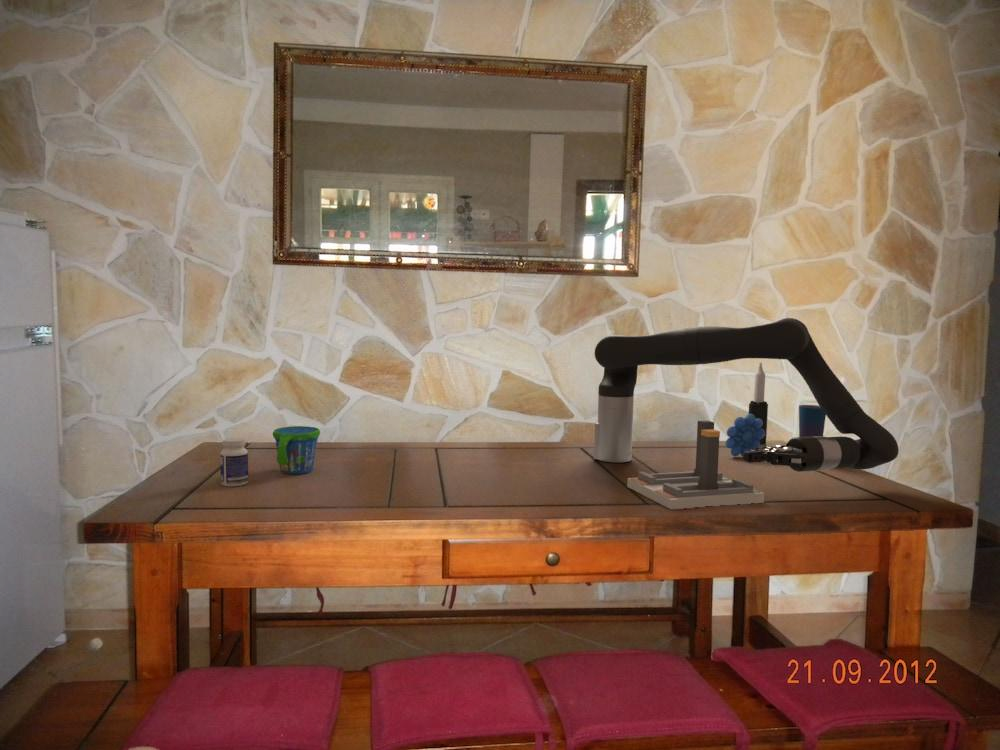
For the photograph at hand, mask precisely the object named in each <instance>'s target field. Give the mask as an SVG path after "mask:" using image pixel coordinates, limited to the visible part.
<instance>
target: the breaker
mask: <svg viewBox="0 0 1000 750" xmlns="http://www.w3.org/2000/svg"><path fill="white" fill-rule="evenodd" d="M720 437H721V430H720V431H719V430H716V429H714V430H713V429H707V430H701V456H700V479H699V481H698V489H699V490H709V489H718V487H719V484H718V483H717V478H718V472H719V456H720V455H719V453H720V451H719V450H720Z"/></svg>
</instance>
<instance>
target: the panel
mask: <svg viewBox="0 0 1000 750" xmlns="http://www.w3.org/2000/svg"><path fill="white" fill-rule="evenodd" d="M696 428H697V429H696V431H697V432H696V449H695V450H696V451H695V452H696V454H695V468H694V470H693V471H679V472H678V471H675V472H661V473H647V472H645V471H638V472H637V477H628V478H627V488H629V489H631V490H633V491H635V492H637V493H638V494H641V495H642V496H644V497H646V498H648V499H650V500H652V501H653V502H655V503H657V504H659V505H661V506H664V507H665V508H667V509H669V510H683V509H684V508H686V509H694V507H699V508H706V507H705V506H713V507H721V506H720V505H727V506H736V505H737V504H740V505H752V504H751V503H754V504H764V503H765V493H764V492H762V491H760V490H758V489H755V488H754V485H753V484H752V483H748V482H746V481H743V480H740V479H739V478H732V479H729V478H728V477H724V476H723V474H724V473H722V472H719V471H718V478H717V483H718V484H719V487H718V489H709V490H699V489H698V481H699V479H700V456H701V430H707V429H713V430H715V422H714V421H710V420H697V427H696ZM737 506H738V505H737Z"/></svg>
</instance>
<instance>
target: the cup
mask: <svg viewBox="0 0 1000 750" xmlns="http://www.w3.org/2000/svg"><path fill="white" fill-rule="evenodd" d="M826 417H827V415H826V414H825V413H824V412H823V410H822V409H821V407H820V406H819V404H818V405H815V404H800V405H798V437H812V436H824V432H825V425H826V424H825V423H826Z"/></svg>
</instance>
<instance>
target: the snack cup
mask: <svg viewBox="0 0 1000 750" xmlns="http://www.w3.org/2000/svg"><path fill="white" fill-rule="evenodd" d="M320 435H321V430H320V429H319V428H318V427H314V426H306V425H305V426H301V425H293V426H284V427H283V426H282V427H279V428H275V429H273V432H272V437H273V439H274V441H275V446H276V453H277V454H276V461H277V463H278V464H279V469H280V473H283V474H286V475H303V474H308V473H310V472H312V471H313V470H314V467H315V459H316V453H317V446H318V438H319V437H320Z"/></svg>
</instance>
